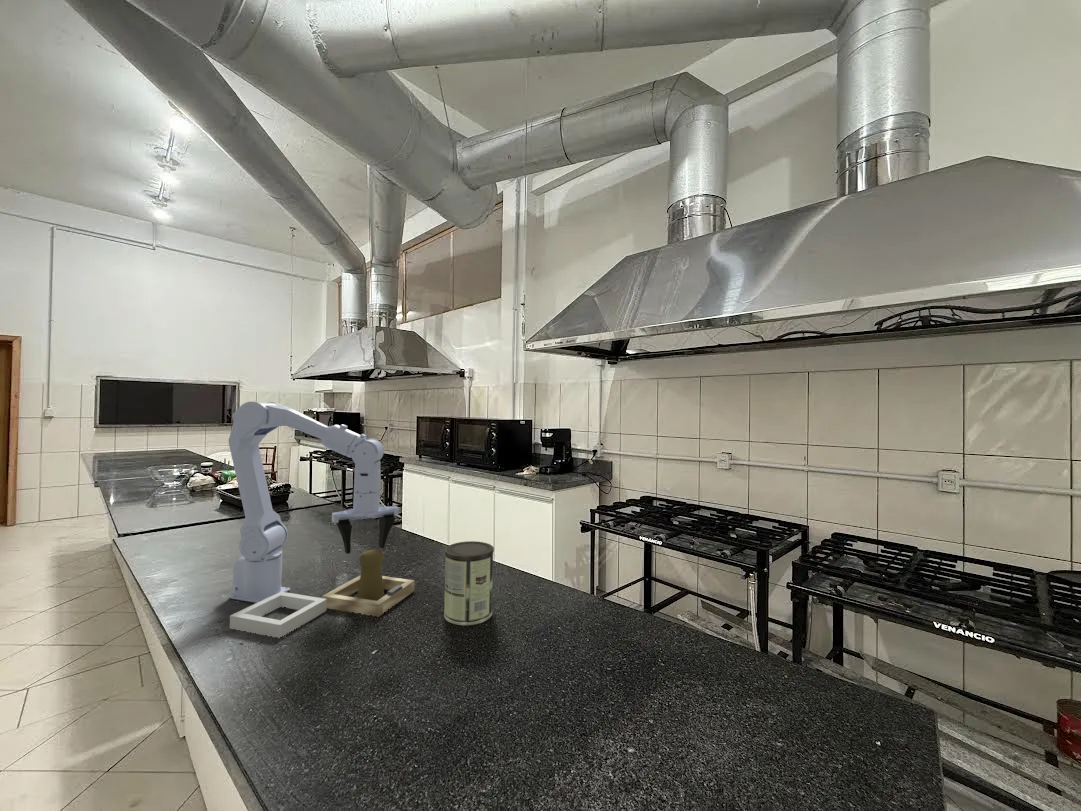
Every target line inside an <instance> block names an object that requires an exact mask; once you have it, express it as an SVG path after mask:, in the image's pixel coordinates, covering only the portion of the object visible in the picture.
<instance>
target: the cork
mask: <svg viewBox="0 0 1081 811" xmlns="http://www.w3.org/2000/svg"><path fill="white" fill-rule="evenodd" d="M358 559H359V566H361V572H360V575H361V576H360V575H359V576H360V582H359V588H358V591H357V595H356V598H361V599H367V600H374V601H378V600H379V599H381V598H382V597H384V596H385V589H384V588H383V579H382V576H383V573H382V572H383V571H382V565H383V563H384V561H385V560H384V559H385V556H384V553H383V551H381V550H380V549H379V550H378V549H370V550H369V549H368V550H365V551H363V552H362V553H361V554H360V556H359V558H358Z"/></svg>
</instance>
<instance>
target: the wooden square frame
mask: <svg viewBox="0 0 1081 811" xmlns="http://www.w3.org/2000/svg"><path fill="white" fill-rule="evenodd" d="M360 576H361V574H359V575H358V576H356V577H355V578H353V579H351V580H349V581H347V582H345V583H344V584H342V585H340V586H338V587H336V588H334V589H332V590H331V591H329V592H327V593H325V594H323V595H322V597H321V598H324V599H327V609H330V610H334V609H335V611H339V612H340V611H341V612H346V611H347V612H346V613H352V612H354V613H353V614H358V613H361V614H360V615H364V614H366V615H365V616H370V615H372V616H371V617H375V616H377V618H379V617H381V616H383V614H384V612H385V613H386V612H387V611H389V610H390V609H391V608H393V607H394V606H396V605H397V604H399V603H400V602H401V601H402V600H404V599H405V598H406V597H408V596H410V595H411V594H412V593H413V592H415V584H416V583H415V579H407V578H401V577H399V578H398V577H392V576H388V575H387V576H385V575H382V579H383V588H384V591H385V590H386V591H387V593H386V594H384V597H382V598H381V599H379V600H378V601H374V600H367V599H361V598H357V597H353V596H352V595H353V594H355V593H356V592H357V593H358V588H359V582H360ZM395 604H396V605H395ZM392 606H393V607H392ZM388 609H389V610H388Z"/></svg>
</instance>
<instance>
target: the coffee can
mask: <svg viewBox="0 0 1081 811" xmlns="http://www.w3.org/2000/svg"><path fill="white" fill-rule="evenodd" d="M494 551H495V547H494V546H493V545H491V544H490V543H487V542H484V541H473V540H472V541H471V540H469V541H460V542H455V543H452V544H449V545H447V546H446V547H445V549H444V555H445V562H444V563H445V564H444V565H445V568H444V569H445V570H444V571H445V572H444V611H443V612H444V614H443V618H444V619H445V621H447V622H448V623H451V624H453V625H458V626H475V625H479V624H482V623H485V622H486V621H488V620H490V618H491V617H492V616H493V578H494V576H493V572H494V568H493V567H494Z"/></svg>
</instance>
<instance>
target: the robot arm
mask: <svg viewBox="0 0 1081 811" xmlns="http://www.w3.org/2000/svg"><path fill="white" fill-rule="evenodd" d="M231 416H232V420H233V423H232V427H231V429H230V430H231V431H230V433H229V438H228V446H229V449H230V450H229V451H230V455H231V459H232V464H233V468H234V472H235V473H234V474H235V477H236V482H237V487H238V491H239V495H240V500H241V503H242V508H243V513H244V517H245V518H244V521H243V522H242V524H241V526H240V530H239V532H240V539H239V540H240V541H239V543H238V544H239V545H238V549H239V552H240V555H241V556H240V557H238V558H237V560H236V561H235V563H234V564H233V569H232V590H231V592H232V594H230V595H228V598H229V599H232V600H237V601H238V600H239V601H244V602H249V603H253V604H256V603H258V602H260V601H262V600H264V599H266V598H268V597H271V596H273V595H275V594H277V593H279V592H287V593H288V592H290V591H291V587H286V586H282V576H283V575H282V574H283V545H285V543H286V542H287V540H288V537H289V531H288V528H287V526H285V525H284V523H283V522H282V519H281V515H279V514H278V513H277V512H276V511H275V510H274V509H273V505H272V501H271V495H270V491H269V487H268V482H267V478H266V474H265V468H264V463H263V460H262V455H261V451H260V447H259V445H260V443H261V442H262V441H263V439H264V438H266V436H267V435H268V434H269V433H271V432H272V431H274V430H276V429H277V428H279V427H290V428H292V429H294V430H298V431H300V432H302V433H304V434H307V435H310V436H312V437H314V438H318V439H320V440H321V442H322V444H323V446H324V448H327V449H329V450H332V451H333V452H335V453H338V454H339V455H342V456H345V457H347V458H351V460H352V461H353V463H354V479H353V482H354V483H353V506H352V508H351V509H347V510H340V511H338V512H337V511H336V512H335V511H334V512H331V522H332V523H333V524H336V526H337V528H338V530H339V532H340V535H341V538H342V542H343V546H344V552H345V553H346V555H348V554H351V549H352V548H351V547H352V546H351V539H352V538H351V537H352V531H353V530H352V529H353V525H352V524H351V522H350V521H357V520H363V519H364V520H365V519H366V520H367V519H373V518H378V525H379V526H378V527H379V535H378V536H379V537H378V547H379V548H380V549H384V548H386V547H385V546H386V542H387V539H388V537H389V534H390V531H391V529H392V527H393V526H394V524H395V522H396V517H397V516H399V509H400V508H399V507H398V506H396V505H395V506H393V505H392V506H380V503H381V502H380V501H381V496H380V495H381V476H382V475H381V472H382V471H381V459H382V458H383V456H384V453H385V450H384V449H385V448H384V446H383V444H382V443H381V441H379V440H378V439H377V438H373V437H371V438H367V434H364V433H361V434H359V433H357V432H355V431H352V430H351V429H348V425H346V424H340V425H339V424H334V425H331V426H329V425H326V424H325V423H322V422H320V421H317V420H316V419H313V417H310V416H308V415H307V414H303V413H302V412H300V411H298V410H296V409H294V408H292V407H290V406H286V405H283V404H282V405H281V404H280V403H278V402H274V401H267V402H263V401H262V402H258V401H247V402H244V403H243V404H241V405H240V406H239V407H238V408H237V409H236V410H235V411H234V413H233V414H232V415H231Z"/></svg>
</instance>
